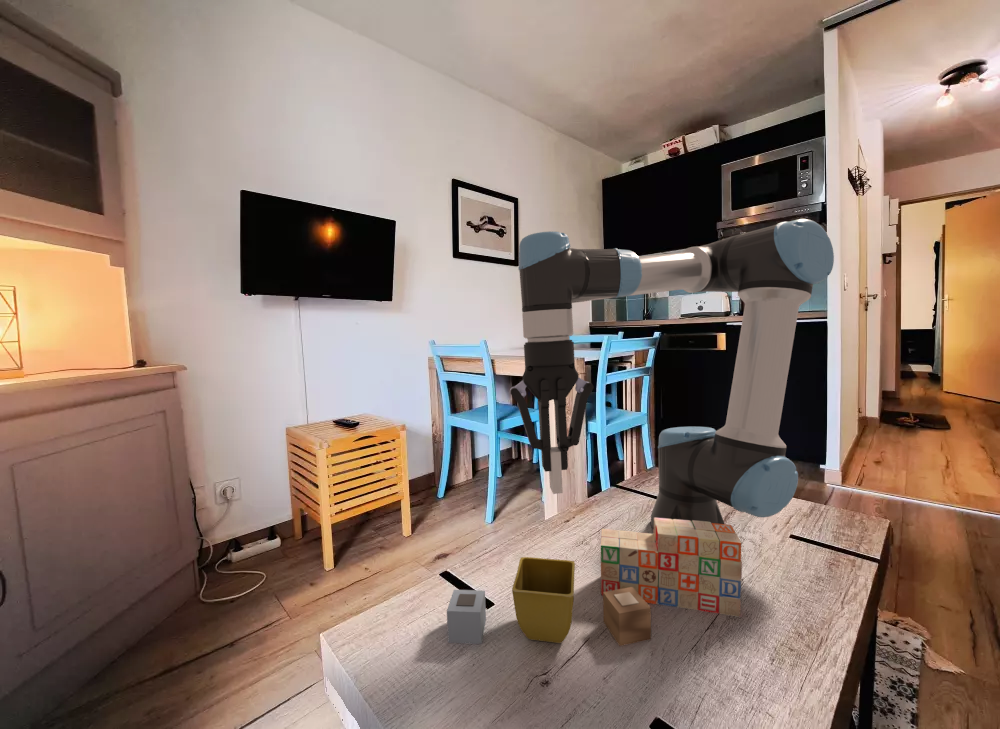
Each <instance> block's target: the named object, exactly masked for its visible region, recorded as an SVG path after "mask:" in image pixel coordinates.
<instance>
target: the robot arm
mask: <svg viewBox="0 0 1000 729" xmlns="http://www.w3.org/2000/svg"><path fill="white" fill-rule="evenodd" d="M834 254H835V253H834V248H833V244H832V241H831V238H830V237H829V236H828V233H827V231H826V230H825V229H824V227H822V226H821V225H820V224H819V223H817V222H816V221H814V220H813V219H812V220H811V219H806V218H799V219H795V220H791V221H781V222H779V223H777V224H773V225H770V226H767V227H763V228H758V229H755V230H752V231H748V232H744V233H741V234H740V233H739V234H736V235H732V236H730V237H726V238H724V239H720V240H717V241H714V242H711V243H708V244H703V245H700V246H697V245H696V246H691V247H687V248H686V249H684V250H683V251H682V252H676V253H665V254H663V253H662V254H653V255H652V254H651V255H644V256H643V255H641V256H640V255H637V254H636V252H634V251H632V250H630V249H620V248H619V249H618V248H617V247H614V248H607V249H606V248H605V249H604V248H595V249H594V248H591V249H590V248H589V249H587V248H582V249H581V248H573V247H571V244H570V238H569V236H568V235H567V234H566V233H564V232H560V231H552V230H551V231H540V232H534V233H532V234H531V233H530V234H528V235H526V236H525V237H523V238H521V240H520V242H519V247H518V269H517V270H518V271H519V281H520V282H519V283H520V296H521V312H522V313H521V314H522V331H523V332H522V333H523V339H524V338H525V339H526V340H527V341H526V342H524V344H523V351H524V352H523V353H524V354H523V355H524V372H523V374H522V378H521V379H522V380H521V381H519V383H517V384H516V385H513V386H511V387H509V391H508V392H509V393H510V395H511V396H512V397H513V399H514V400H515V401H516V404H517V407H518V410H519V411H518V412H519V413H520V416H521V420H522V423H523V427H524V429H525V433H526V436H527V439H528V443H529V444H530V446H531V448H532V449H533V450H540V451H541V452H540V453H541V466H542V468H543V470H544V472H545V473H547V472H548V473H549V474H548V475H549V489H550V490H551V493H552V494H553V495H555V494H556V495H557V494H563V492H564V491H563V475H562V474H563V473H562V471H566V470H568V467H569V465H568V464H569V462H568V460H569V459H568V451H569V449H570V448H571V447H573V446H578V445H579V443H580V440H581V438H580V437H581V434H582V429H583V423H584V418H585V412H586V407H587V403H588V402H587V401H588V398H589V397H590V396H591V393H592V392H593V390H594V388H595V386H594V384H593V383H592V382H590V381H586V380H584V379H582V378H581V377H579V375H580V374H579V372H578V370H577V369H576V365H575V364H576V363H575V345H574V344H575V342H574V341H573V339H570V337H571V336H573V335H574V325H573V324H574V323H573V322H574V320H573V304H574V303H583V302H588V301H597V300H605V299H606V300H607V299H617V298H625V297H629V296H639V295H647V294H655V293H663V292H670V291H671V292H672V291H680V290H683V291H684V292H686V293H690V294H695V293H696V294H697V293H704V292H706V293H707V292H708V293H709V292H711V293H712V292H713V293H715V292H717V293H737V297H739V298H740V299H741V301H742V302H743V303H744V309H743V316H742V320H741V321H742V322H741V326H740V327H741V328H740V333H739V338H738V339H739V340H738V346H737V353H736V357H735V364H734V371H733V378H732V381H731V382H732V383H731V389H730V395H729V400H728V408H727V415H726V420H725V424H724V426H722V427H721V428H718V429H717V430H716V429H715V428H712V427H709V426H677V427H670V428H666V429H662V430H661V432H660V433H659V436H658V446H657V457H658V458H657V460H658V463H657V464H658V495H657V497H656V500H655V503H654V505H653V509H652V511H651V514H650V527H651V529H652V530H653V532H654V518H666V519H679V520H690V521H692V520H696V521H707V522H711V523H717V524H725V521H724V518H723V514H722V513H721V510H720V506H719V504H718V502H719V503H722V504H724V505H727V506H728V507H729V506H730V507H731V508H733V510H736V511H737V512H740V513H746V514H749V515H751V516H753V517H757V518H769V517H772V516H776V514H778V513H780V512H781V511H782V510H783V509H784V508H786V507H787V506H788V505H789V503H790V502H791V501H792V499H793V497H794V495H795V493H796V491H797V487H798V483H799V482H798V481H799V473H798V471H797V467H796V465H795V463H794V462H793V461H792V460H790V458H787V457H786V452H787V445H786V443H785V442H784V440H782V439H781V437H780V435H779V431H780V425H781V420H782V413H783V408H784V407H783V406H784V402H785V401H784V400H785V394H786V390H787V389H786V388H787V383H788V381H787V380H788V378H789V377H788V375H789V370H790V365H791V358H792V353H793V352H792V351H793V346H794V340H795V335H796V334H795V332H796V326H797V320H798V315H799V309H800V306H801V305H803V304H804V303H806V302H807V301H808V300H810V299H811V298H812V292H813V288H814V285H817V284H820V283H821V282H823V281H825V280H826V279H828V276H829V275H831V272H832V271H833V268H834V263H835V262H834V261H835V255H834ZM574 386H575V389H574V390H575V391H576V394H575V398H574V403H573V407H572V414H571V418H570V424H569V428H567V424H568V423H567V410H566V409H567V397H568V396H569V394H570V393H571V392H572V390H573V388H574ZM526 388H527V389H528V390H529V391H530V392H531V393H532V394H533V396H534V397H535V399H537V404H538V406H537V407H538V421H539V438H538V436H537V433H536V430H535V427H534V423H533V420H532V417H531V413H530V410H529V406H528V404H527V401H526V399H525V397H526V396H527V391H526ZM552 400H553V404H554V417H555V419H554V420H555V434H556V445H557V446H551V445H552V443H551V426H550V425H551V424H550V401H552Z"/></svg>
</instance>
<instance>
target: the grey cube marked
mask: <svg viewBox="0 0 1000 729" xmlns="http://www.w3.org/2000/svg"><path fill="white" fill-rule="evenodd" d="M486 609H487V608H486V590H477V589H476V590H475V589H474V590H473V589H453V591H452V594H451V597H450V601H449V603H448V606H447V610H446V624H447V625H446V626H447V643H451V644H469V645H470V644H471V645H473V644H476V645H482V644H483V639H484V638H483V637H484V632H485V627H486V623H487V611H486Z"/></svg>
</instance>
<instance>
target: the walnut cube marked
mask: <svg viewBox="0 0 1000 729" xmlns="http://www.w3.org/2000/svg"><path fill="white" fill-rule="evenodd" d="M602 603H603V604H602V606H603V608H602V609H603V611H602V612H603V615H602V617H603V623H604V625H605V627H606V628H607V630H608V631H609V633H610V634H611V635H612V637H613V639H614V640H615V642H616V643H617V645H618V646H619V647H621V646H627V645H631V644H636V643H641V642H646V641H650V640H651V639H652V632H651V631H652V625H651V624H652V623H651V622H652V620H651V619H652V618H651V617H652V615H651V614H652V613H651V612H652V610H651V609H652V608H651V606H650V605H649V603H646V602H645V600H644V599H643V598H642V597H641V596H640V595H639V594H638V593H637V591H636V590H635V589H634V588H633V587H629V588H623V589H618V590H612V591H607V592H603V596H602Z"/></svg>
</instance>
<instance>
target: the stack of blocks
mask: <svg viewBox="0 0 1000 729" xmlns="http://www.w3.org/2000/svg"><path fill="white" fill-rule="evenodd" d="M600 537H601V539H600V582H601V584H600V592H601V594H600V595H601V596H602V597H603V592H607V591H612V590H618V589H623V588H629V587H633V588H634V589H635V590H636V591H637V593H638V594H639V595H640V596H641V597H642V598H643V599H644V600H645V602H646V603H647V604H653V605H661V606H669V607H673V608H675V607H676V608H681V609H689V610H695V611H696V610H697V611H701V612H707V613H714V614H720V615H725V616H733V617H741V593H742V592H741V591H742V590H741V589H742V588H741V587H742V579H743V578H742V577H743V575H742V574H743V573H742V572H743V570H742V569H743V562H742V541H741V540H740V538H739V536H738V534H737V532H736V530H735V529H734V528H733V526H732V524H726V523H724V524H717V523H711V522H707V521H696V520H692V521H690V520H679V519H666V518H654V531H653V533H650V532H649V533H648V532H638V531H637V532H636V531H631V530H630V531H629V530H618V529H611V528H609V529H608V528H601V534H600Z"/></svg>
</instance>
